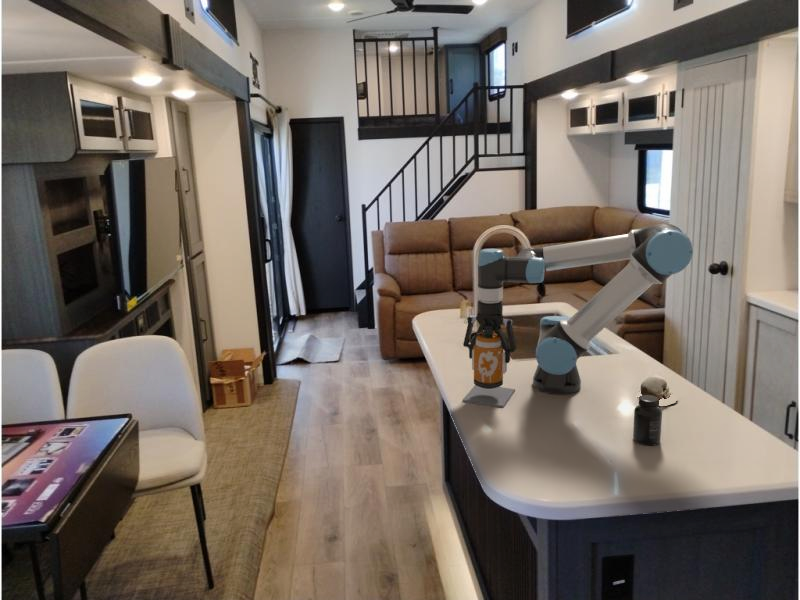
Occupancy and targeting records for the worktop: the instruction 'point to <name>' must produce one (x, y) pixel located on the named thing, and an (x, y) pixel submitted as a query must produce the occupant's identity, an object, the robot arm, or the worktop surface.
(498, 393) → the mat
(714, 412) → the worktop surface
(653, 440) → the supplement bottle
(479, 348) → the canister
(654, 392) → the skull
